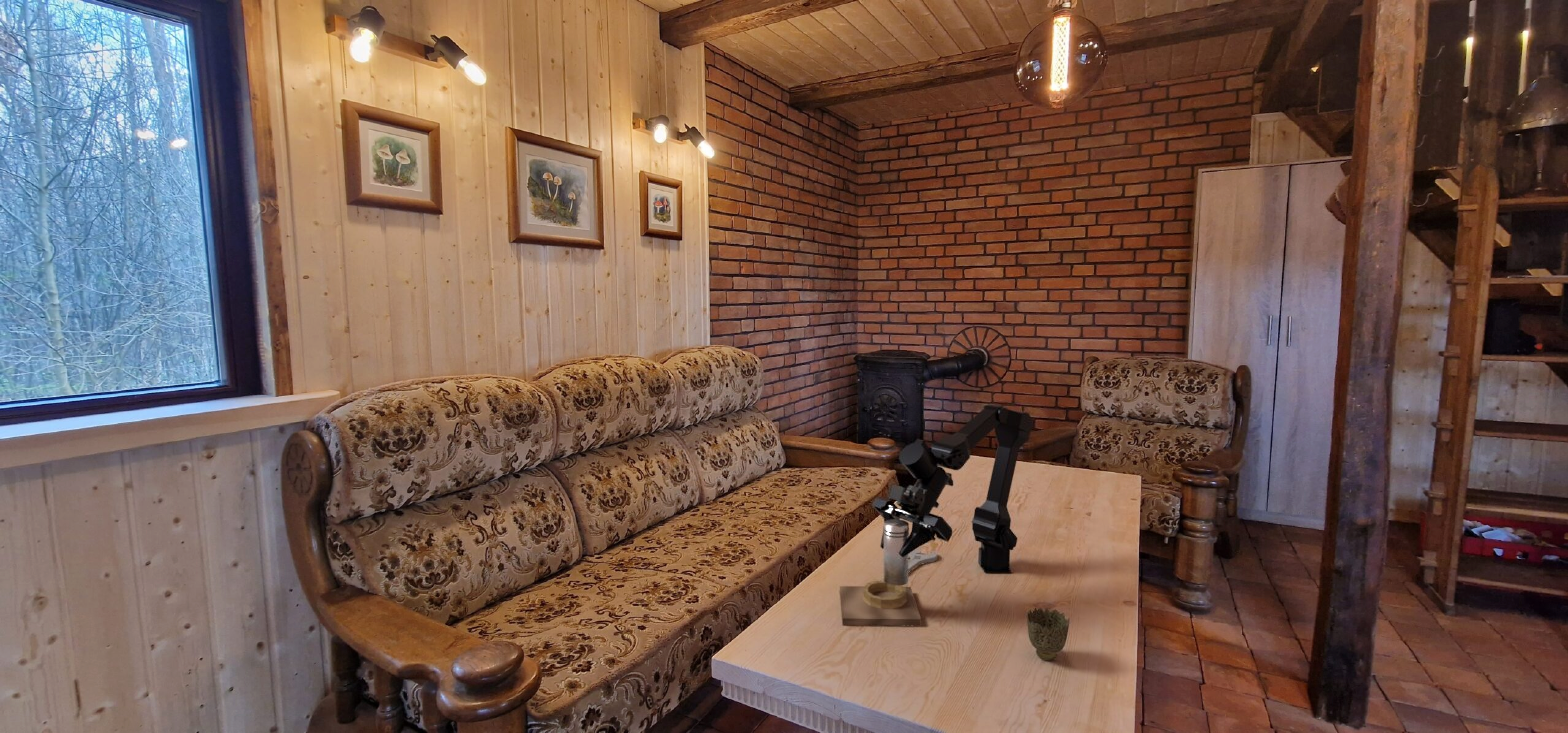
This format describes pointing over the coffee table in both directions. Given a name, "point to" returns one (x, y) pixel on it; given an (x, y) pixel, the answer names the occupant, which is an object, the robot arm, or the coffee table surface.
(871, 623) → the ring seat
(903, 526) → the silver metal cylinder
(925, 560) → the adjustable wrench
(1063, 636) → the cup
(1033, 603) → the coffee table surface
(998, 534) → the robot arm
